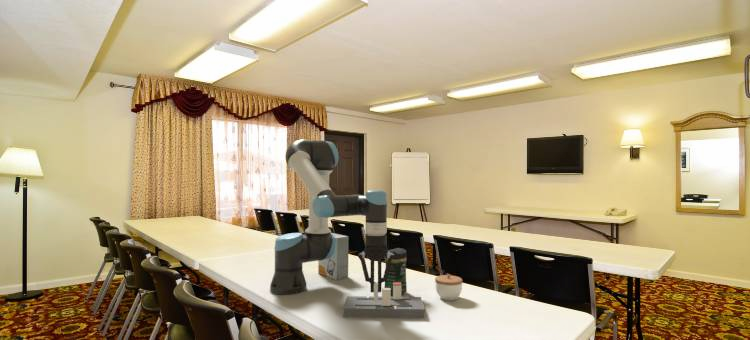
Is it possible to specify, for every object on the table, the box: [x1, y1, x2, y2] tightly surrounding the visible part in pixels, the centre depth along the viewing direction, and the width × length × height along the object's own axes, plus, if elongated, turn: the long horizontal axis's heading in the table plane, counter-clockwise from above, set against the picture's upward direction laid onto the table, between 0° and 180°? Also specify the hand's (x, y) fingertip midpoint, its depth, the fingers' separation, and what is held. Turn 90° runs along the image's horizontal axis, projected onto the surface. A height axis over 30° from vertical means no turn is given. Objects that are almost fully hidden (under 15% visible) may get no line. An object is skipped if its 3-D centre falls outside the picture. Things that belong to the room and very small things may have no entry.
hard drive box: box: [317, 232, 349, 281], centre depth 180 cm, size 16×8×20 cm, turn 43°
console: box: [342, 295, 426, 319], centre depth 132 cm, size 28×14×3 cm, turn 89°
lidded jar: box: [434, 273, 463, 302], centre depth 146 cm, size 11×11×9 cm
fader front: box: [381, 287, 392, 306], centre depth 128 cm, size 3×2×6 cm
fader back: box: [392, 282, 402, 299], centre depth 135 cm, size 3×2×6 cm
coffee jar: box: [383, 247, 408, 297], centre depth 152 cm, size 10×8×19 cm
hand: (375, 301), depth 128 cm, fingers closed
